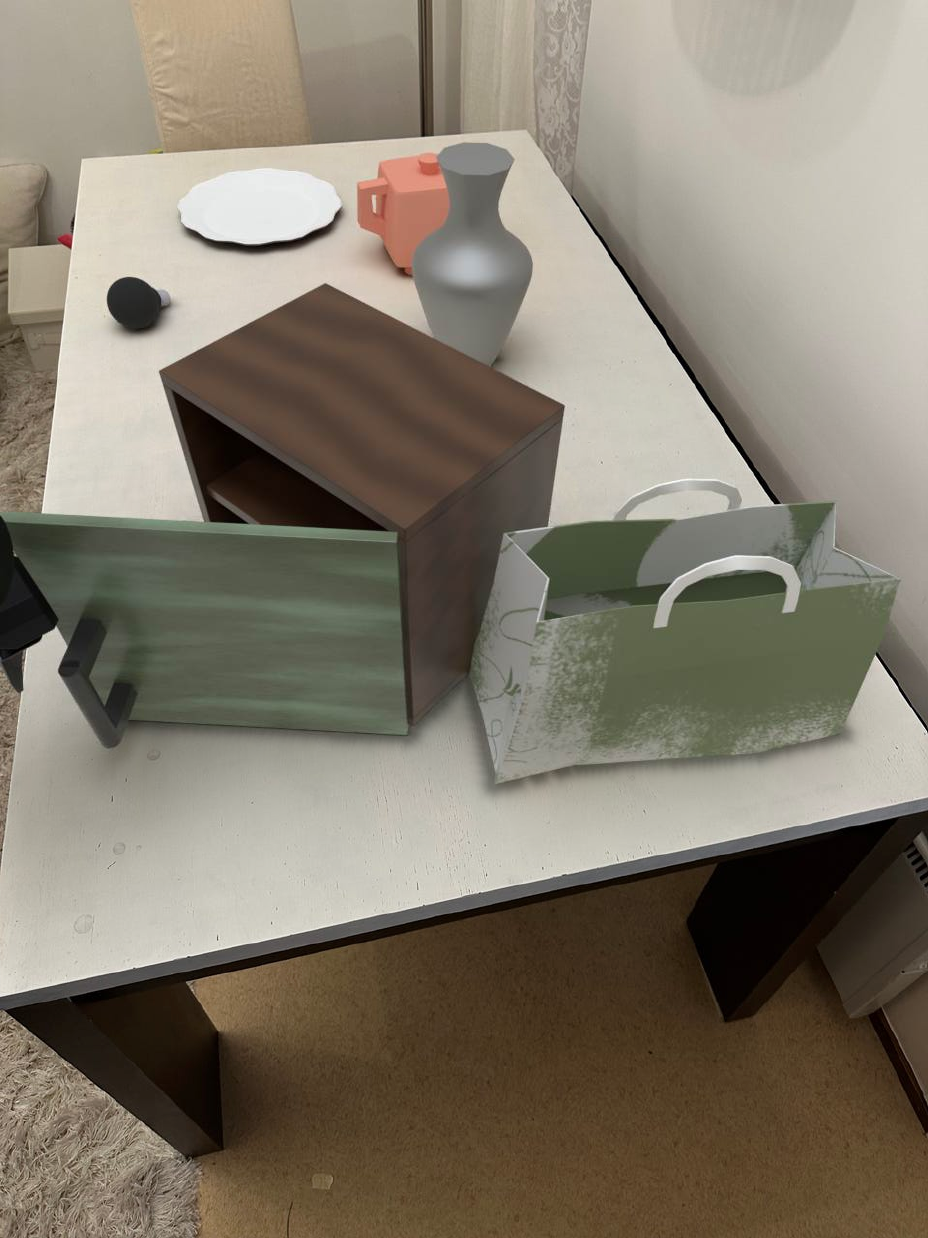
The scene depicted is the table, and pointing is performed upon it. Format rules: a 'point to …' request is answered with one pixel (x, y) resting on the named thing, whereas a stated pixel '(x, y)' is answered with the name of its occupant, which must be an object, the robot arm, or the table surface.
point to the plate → (259, 206)
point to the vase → (472, 257)
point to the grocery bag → (674, 635)
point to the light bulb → (135, 302)
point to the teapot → (404, 204)
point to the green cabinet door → (222, 621)
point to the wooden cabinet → (373, 455)
